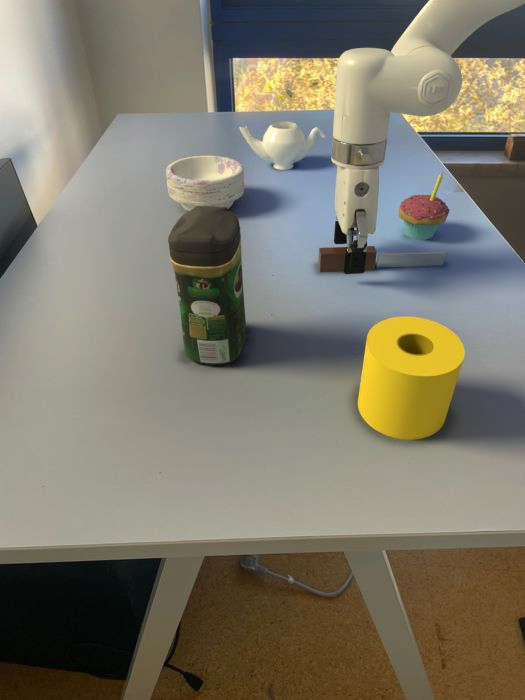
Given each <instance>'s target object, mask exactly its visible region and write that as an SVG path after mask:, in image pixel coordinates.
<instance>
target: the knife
mask: <svg viewBox="0 0 525 700" xmlns="http://www.w3.org/2000/svg"><path fill="white" fill-rule="evenodd" d="M345 249H347V246H336V247H335V246H334V247H333V246H331V247H330V246H329V247H319V248H318V261H317V268H318V271H319V273H340V272H342V273H344V272H343V266H344V255H345ZM445 256H446V251H444V250H440V251H415V252H413V251H412V252H388V253H386V252H385V253H378V252H377V249H376V247H375V245H367V253H366V261H365V270H364V272H366V271H370V272H371V271H376V270H375V269H376V268H400V267H405V268H406V267H426V266H427V267H428V266H429V267H430V266H443V265H444V261H445Z"/></svg>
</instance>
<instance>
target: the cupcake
mask: <svg viewBox="0 0 525 700" xmlns="http://www.w3.org/2000/svg"><path fill="white" fill-rule="evenodd" d="M444 173H445V170H443V171H442V172H441V173H440V174H439V175H438V177H437V179H436V182H435V184H434V188H433V191H432V192H431V194H415V195H414V194H413V195H411V196H409V197H407V198H405V199H404V200H403V201H401V202H400V204H399V206H398V217H399V218H400V219H401V220H403V223H404V228H405V229H404V230H405V235H406V236H407V237H408V238H410V239H413V240H416V241H425V240H426V241H427V240H430V239H432V238H433V237H434V235H435V233H436V231H437V230H438V227H439V226H440V225H442V224H444V223H445V222H446V221H447V218H448V216H449V214H450V211H451V209H450V208H449V206H448V205H447V203H446V202H445V201H443V199H441V198H440V197H439V196H436V195H437V193H438V191H439V188H440V185H441V183H442V181H443V177H444V176H443V174H444Z"/></svg>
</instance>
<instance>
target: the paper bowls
mask: <svg viewBox="0 0 525 700" xmlns="http://www.w3.org/2000/svg"><path fill="white" fill-rule="evenodd" d="M244 170H245V169H244V166H243V165H242V162H239V161H238V160H236V159H233V158H230V157H227V156H222V155H221V156H220V155H209V154H207V155H195V156H188V157H183V158H179V159H176V160H175V161H173V162H171V163H169V164H168V165H167V167H166V168H165V176H166V186H167V191H168V196H169V197H170V198H171V199H172V200H174V201H175V202H177V203H179V204H180V205H181V207H182V208H183V209H184V210H186V211H187V212H189V211H190V210H192V209H193V208H194V207H195V206H214V207H226V208H228V209H230V208H231V207H232V205H233V204H234V203H235V201H236V200H238V199H239V198H241V197H242V196H243V195H244V192H245V171H244Z"/></svg>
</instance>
